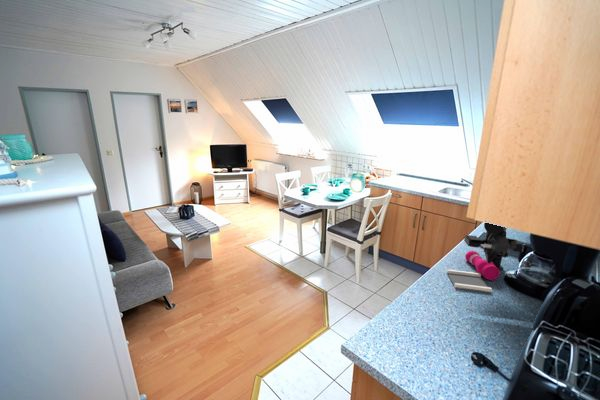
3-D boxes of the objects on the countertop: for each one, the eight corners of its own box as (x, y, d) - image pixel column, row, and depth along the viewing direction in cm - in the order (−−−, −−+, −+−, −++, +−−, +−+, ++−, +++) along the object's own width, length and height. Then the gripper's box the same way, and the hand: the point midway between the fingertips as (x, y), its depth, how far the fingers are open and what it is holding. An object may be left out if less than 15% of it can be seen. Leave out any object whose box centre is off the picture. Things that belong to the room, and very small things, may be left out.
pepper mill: (502, 266, 114) (477, 247, 133) (484, 264, 115) (462, 246, 134) (498, 282, 116) (474, 261, 135) (480, 279, 116) (459, 259, 136)
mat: (446, 273, 122) (447, 269, 121) (479, 277, 119) (480, 273, 119) (454, 288, 111) (455, 284, 110) (491, 293, 108) (492, 289, 107)
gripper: (477, 231, 101) (469, 269, 105) (536, 236, 97) (525, 276, 101) (467, 221, 112) (460, 256, 116) (520, 225, 108) (511, 261, 112)
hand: (488, 262), depth 111 cm, fingers closed
